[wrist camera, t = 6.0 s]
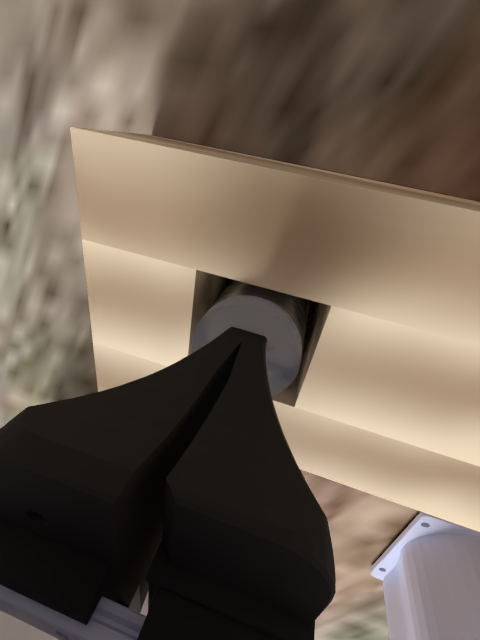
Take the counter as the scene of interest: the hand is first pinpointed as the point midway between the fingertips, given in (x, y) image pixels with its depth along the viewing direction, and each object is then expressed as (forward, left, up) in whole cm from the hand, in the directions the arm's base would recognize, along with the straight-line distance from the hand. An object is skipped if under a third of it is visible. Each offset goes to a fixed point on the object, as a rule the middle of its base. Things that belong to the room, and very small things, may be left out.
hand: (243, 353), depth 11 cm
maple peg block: (0, -6, -6) cm, 8 cm away
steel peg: (0, 0, -5) cm, 5 cm away
